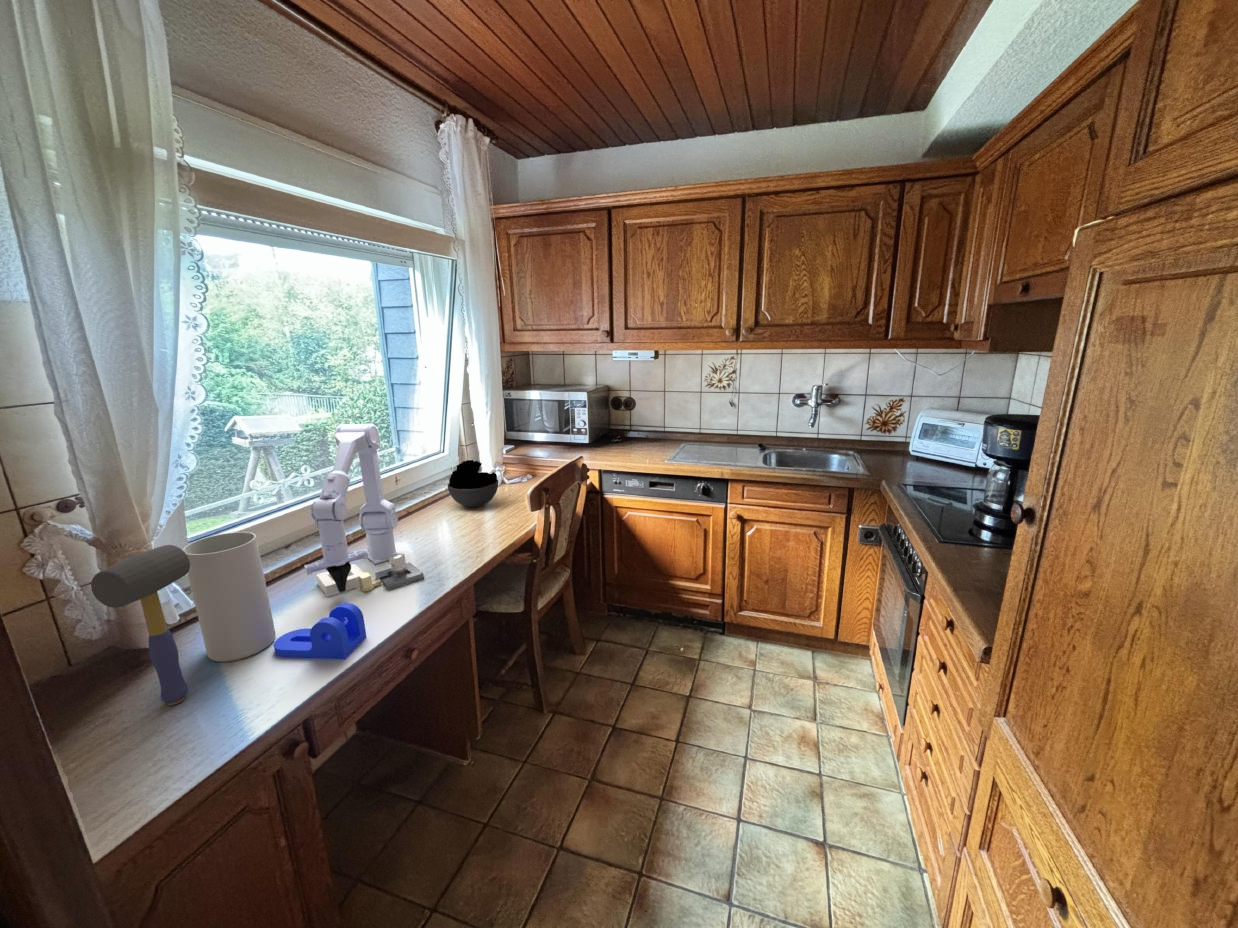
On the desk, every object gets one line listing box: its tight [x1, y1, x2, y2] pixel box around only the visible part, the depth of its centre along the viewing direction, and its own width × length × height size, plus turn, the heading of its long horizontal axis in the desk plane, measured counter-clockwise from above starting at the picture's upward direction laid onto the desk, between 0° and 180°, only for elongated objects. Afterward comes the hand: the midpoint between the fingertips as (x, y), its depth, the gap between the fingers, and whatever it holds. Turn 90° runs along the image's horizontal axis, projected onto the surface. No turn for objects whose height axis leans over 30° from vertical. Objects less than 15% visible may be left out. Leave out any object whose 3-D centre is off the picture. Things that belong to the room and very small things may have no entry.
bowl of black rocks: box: [447, 459, 499, 508], centre depth 206 cm, size 20×20×19 cm
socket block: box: [374, 562, 425, 591], centre depth 145 cm, size 10×10×2 cm
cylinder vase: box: [182, 531, 276, 663], centre depth 111 cm, size 12×12×25 cm
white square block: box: [316, 563, 364, 598], centre depth 142 cm, size 10×10×3 cm
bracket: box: [273, 601, 367, 661], centre depth 112 cm, size 18×8×9 cm, turn 85°
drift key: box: [358, 571, 383, 593], centre depth 140 cm, size 3×5×4 cm, turn 133°
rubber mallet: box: [90, 544, 190, 706], centre depth 93 cm, size 12×8×30 cm, turn 175°
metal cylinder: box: [389, 552, 407, 579], centre depth 145 cm, size 4×4×7 cm
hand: (341, 590), depth 135 cm, fingers closed
